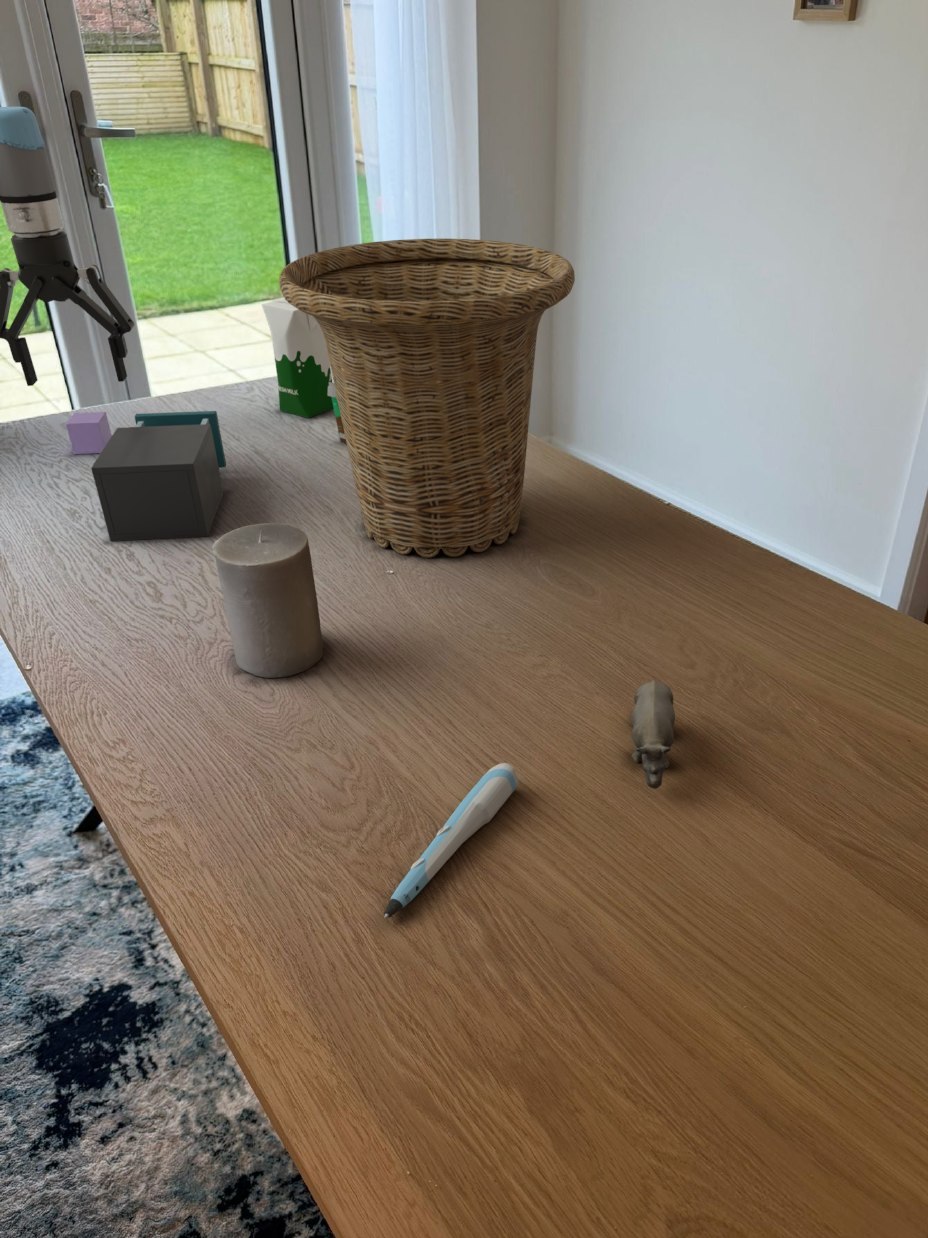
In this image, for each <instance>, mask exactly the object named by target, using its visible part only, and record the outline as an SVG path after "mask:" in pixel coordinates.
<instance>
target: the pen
mask: <svg viewBox="0 0 928 1238" xmlns="http://www.w3.org/2000/svg"><path fill="white" fill-rule="evenodd" d="M518 785H519V778H518V775H517V772H516V771H515V768H514V767H513V765H511V764H509V763H508V762H503V763H499V764H496V765H494V766H493V767H491V768H490V769H489V770H487V772H486V773H485V774H483V775H482V777H480V779H479V780H478V782H476V784H475V785H474V786H473V788H471V790H470V791H469V792H467V794H466V795H465V797H464V798H463V799H462V800H461V801H460V803H459V804H458V806H457V807H456V808H455V810H454V811H453V813H452V814H451V815H450V817H449V818H448V819H447V821H446V822H445V824H444V825H443V826H442V827H441V828H440V829H439V830H438V831H437V833H436V836H435V837H434V839H433V840H432V841H431V842H430V844H429V845H428V846H427V848H426V849H425V850H424V852H423V853H422V854H421V856H420V857H419V858H418V859H417V860H416V861H414V863H413V864H412V865H411V866H410V870H409V871H408V873H406V875H405V876H404V878H403V879H402V880H401V882H400V883H399V884H398V886H397V888H396V889H395V891H394V892H393V894H392V895H391V897H390V899H389V901H388V903H387V906H386V908H385V910H384V912H383V914H384V916H383V918H384V919H387V918H392V917H393V916H394V915H395V914H396V913H398V912H400V911H401V910H402V909H403V908H404V907H406V906H407V905H408V904H409V903H410V902H411V901H413V899H414V898H416V896H417V895H418V894H419V893H420V892H421V891H422V890H423V889H424V887H425V886H426V885H428V884H429V882H430V881H431V880H432V879H433V878H434V876H435V875H436V874H437V873H438V872H439V871H440V869H441V868H442V867H443V866H444V865H445V864H446V863H447V861H448V860H449V859H450V858H451V857H452V856H453V855H454V853H455V852H456V851H457V850H458V849H459V848H460V847H461V846H462V844H463V843H464V842H466V841H467V840H468V839H470V837H472V836H473V835H474V834H475V833H477V831H478V830H479V829H481V828H482V827H483V826H484V825H486V824H488V823H489V822H490V821H491V820H492V819H493V818H494V817H495V815H496V814H497V813H498V811H499V810H500V809H501V807H502V806H503V805H504V804H505V803H506V801H508V799H509V798H510V796H511V795H512V794H513V792H514V791H515V790H516V789H517V787H518Z"/></svg>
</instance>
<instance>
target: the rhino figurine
mask: <svg viewBox="0 0 928 1238" xmlns="http://www.w3.org/2000/svg"><path fill="white" fill-rule="evenodd" d="M633 702H634V707H633V710H632V712H631V716H630V721H631V725H632V730H631V741H632V742H633V744H634V745H635V747H636V748H635V751H634V752H633V753H632V754H631V758H632V759H633V761H634V762H635V763H642V770H643V772H644V774H645V781H646V785H647V787H649V788H650V789H652V790H655V789H658V788H659V787H661V786H662V782H663V773H664V771H665V770H667V769H668V768H669V766H670V760H668V758H667V756H666V755H667V754H668V753H669V752H671V748H672V745H673V744H674V741H675V734H674V729H673V728H674V726H675V721H676V713H675V708H674V694H673V691H672V689H671V688H670V687H669V686H668V685H667V684H665V683H663V682H660V681H658V680H656V679H653V680H651V681H649V682H646V683H644V684H642V685H640V686H639V687H638V688H637V690H636V691H635V694H634V697H633Z"/></svg>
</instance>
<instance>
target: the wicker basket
mask: <svg viewBox="0 0 928 1238" xmlns="http://www.w3.org/2000/svg"><path fill="white" fill-rule="evenodd" d="M575 278H576V277H575V269H574V267H573V265H572V264H571V262H570V261H569V260H568V259H566V257H564V256H561V254H558V253H555V252H552V251H550V250H546V249H543V248H539V247H536V246H535V247H534V246H530V245H526V244H520V243H513V242H506V241H498V240H489V239H488V240H486V239H471V238H411V239H395V240H394V239H392V240H381V241H372V242H371V241H370V242H363V243H357V244H349V245H345V246H344V245H343V246H338V247H334V248H329V249H325V250H321V251H317V252H314V253H311V254H308V255H305V256H302V257H299V258H298V259H295V260H293V261H291V262H289V263H288V264H287V265H286V266H284V267H283V269H282V270H281V272H280V274H279V277H278V284H279V285H278V286H279V291H280V292H281V294H282V297H283V298H285V300H286V301H287V302H288V303H289V304H291V305H293V306H294V307H296V308H297V309H299V310H300V311H302V312H304V313H306V314H309V315H311V316H313V317H314V318H315V319H316V321H317V322H318V324H319V326H320V328H321V330H322V332H323V335H324V338H325V342H326V347H327V352H328V356H329V361H330V369H331V376H332V381H333V383H334V385H335V390H336V394H337V399H338V404H339V409H340V414H341V418H342V423H343V428H344V433H345V437H346V442H347V444H346V446H347V452H348V456H349V460H350V467H351V471H352V475H353V480H354V485H355V490H356V493H357V499H358V503H359V508H360V512H361V517H362V520H363V524H364V529H365V532H366V534H367V536H368V538H369V539H374V541H375V542H376V544H377V545H378V546H379V547H381V548H383V549H385V548H388V547H389V546H391V548H392V549H393V551H395V552H396V553H397V554H400V555H409V554H410V553H411V552H412V551H413V548H414V551H415V552H416V553H417V554H418V555H419V556H420V557H422V558H426V559H430V558H434V557H436V556H437V555H438V554H439V552H440V550H442V552H443V554H445V555H447V557H450V558H458V557H461V556H462V555H464V554H465V553H466V551H467V550H468V547H469V548H470V550H472V552H475V553H482V552H484V551H486V550H488V549H489V548H490V546H491V544H492V542H493V543H494V544H496V545H502V544H504V543H505V542H506V541H507V539H508V537H509V535H515V534H516V532H517V530H518V526H519V523H520V518H521V510H522V500H523V493H524V492H523V491H524V482H525V481H524V479H525V471H526V461H527V460H526V458H527V449H528V438H529V436H528V435H529V426H530V425H529V424H530V413H531V404H532V403H531V402H532V393H533V392H532V390H533V383H534V382H533V380H534V369H535V358H536V350H537V348H536V347H537V337H538V330H539V325H540V322H541V319H542V317H543V315H544V313H545V312H546V311H547V310H548V309H550V308H552V307H554V306H556V305H557V304H558V303H561V301H562V300H564V299H565V298H566V297H568V295H570V293H571V292H572V290H573V287H574V284H575V280H576V279H575Z"/></svg>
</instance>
